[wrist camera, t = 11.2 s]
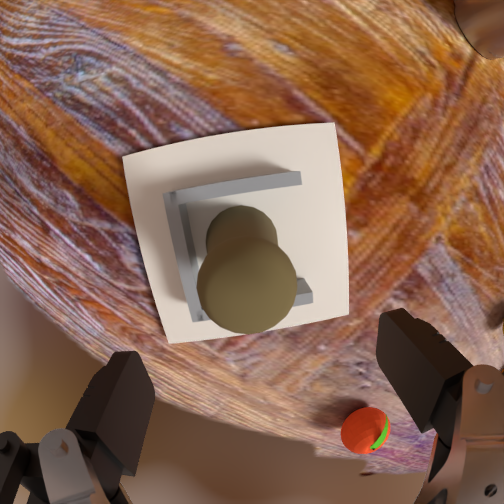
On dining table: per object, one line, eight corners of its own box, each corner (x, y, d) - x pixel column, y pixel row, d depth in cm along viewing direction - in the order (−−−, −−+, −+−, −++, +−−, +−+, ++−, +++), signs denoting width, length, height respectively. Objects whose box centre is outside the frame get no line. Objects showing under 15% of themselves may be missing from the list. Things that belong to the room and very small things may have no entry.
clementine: (352, 391, 31) (372, 430, 24) (391, 391, 32) (412, 425, 25) (326, 428, 33) (339, 466, 26) (364, 427, 34) (379, 460, 27)
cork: (264, 283, 25) (285, 362, 14) (197, 264, 24) (172, 335, 13) (287, 218, 23) (331, 258, 13) (217, 195, 22) (202, 218, 12)
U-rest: (126, 157, 22) (107, 155, 18) (330, 124, 22) (347, 116, 18) (170, 338, 27) (163, 361, 23) (345, 309, 27) (360, 329, 23)
